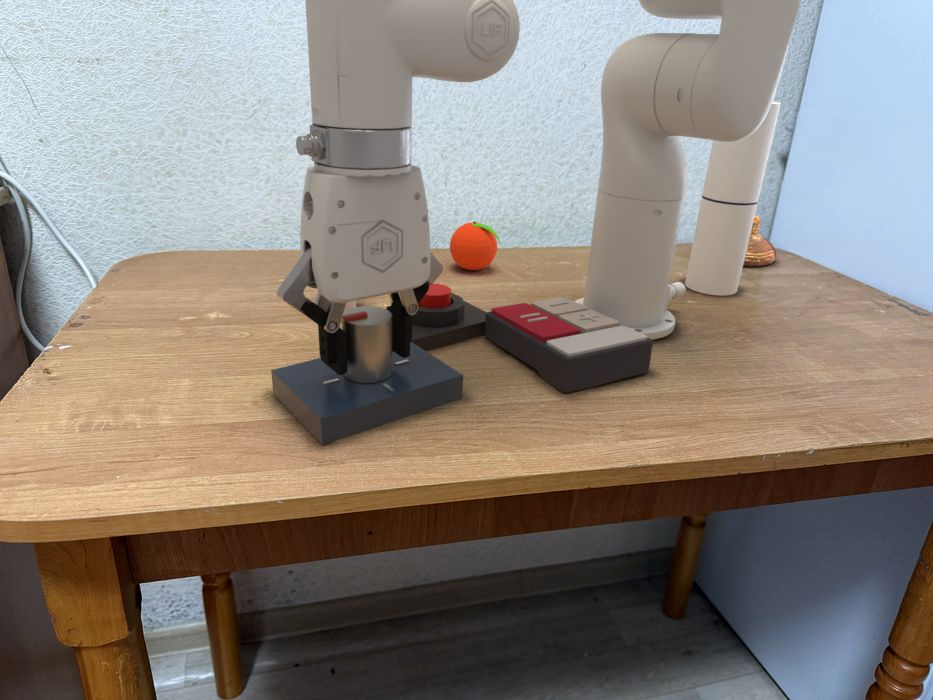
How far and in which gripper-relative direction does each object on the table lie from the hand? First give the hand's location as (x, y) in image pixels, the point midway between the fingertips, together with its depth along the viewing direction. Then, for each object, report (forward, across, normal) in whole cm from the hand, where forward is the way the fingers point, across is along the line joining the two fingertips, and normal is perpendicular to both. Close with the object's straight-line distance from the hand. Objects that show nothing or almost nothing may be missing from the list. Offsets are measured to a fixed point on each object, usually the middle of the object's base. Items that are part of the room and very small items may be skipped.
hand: (367, 358), depth 57 cm
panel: (+4, 0, 0) cm, 4 cm away
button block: (+4, +14, +10) cm, 18 cm away
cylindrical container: (+4, +57, +2) cm, 57 cm away
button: (+1, +14, +10) cm, 17 cm away
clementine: (+4, +32, +25) cm, 41 cm away
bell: (+4, +75, +9) cm, 76 cm away
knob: (+1, 0, 0) cm, 1 cm away
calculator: (+4, +22, -3) cm, 23 cm away
